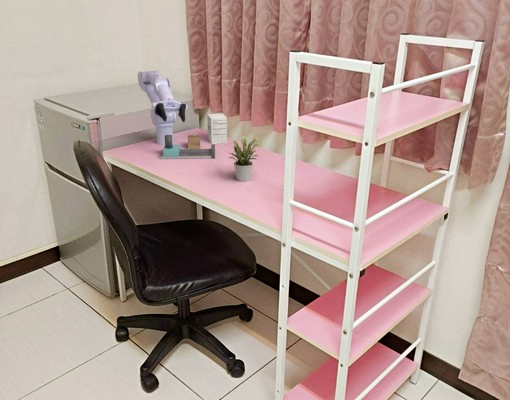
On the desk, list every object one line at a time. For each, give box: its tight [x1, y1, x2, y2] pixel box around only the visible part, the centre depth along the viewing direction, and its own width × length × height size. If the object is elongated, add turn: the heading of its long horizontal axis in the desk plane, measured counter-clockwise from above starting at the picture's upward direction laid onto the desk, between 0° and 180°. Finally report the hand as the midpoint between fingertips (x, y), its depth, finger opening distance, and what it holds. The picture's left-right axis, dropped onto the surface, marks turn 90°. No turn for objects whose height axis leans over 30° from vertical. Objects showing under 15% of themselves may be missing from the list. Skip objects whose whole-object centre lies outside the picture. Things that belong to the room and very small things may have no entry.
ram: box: [162, 135, 181, 156], centre depth 205 cm, size 8×6×8 cm
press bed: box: [159, 143, 216, 160], centre depth 206 cm, size 10×22×4 cm, turn 94°
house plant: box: [228, 135, 264, 182], centre depth 183 cm, size 14×14×16 cm
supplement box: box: [206, 112, 228, 146], centre depth 223 cm, size 7×7×13 cm
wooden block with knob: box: [187, 134, 201, 149], centre depth 215 cm, size 5×5×6 cm
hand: (174, 119), depth 198 cm, fingers open, 7 cm apart
